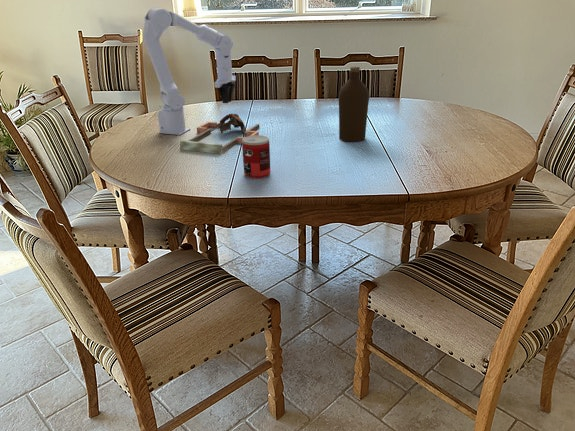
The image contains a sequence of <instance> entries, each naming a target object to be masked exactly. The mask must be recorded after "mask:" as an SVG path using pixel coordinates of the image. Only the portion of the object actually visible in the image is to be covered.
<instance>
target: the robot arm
mask: <svg viewBox="0 0 575 431" xmlns="http://www.w3.org/2000/svg"><path fill="white" fill-rule="evenodd" d="M177 26H178V27H179V28H181V29H184V30H185V31H188V32H190V33H193V34H194V35H195V36H196V38H197V40H199V41H201V42H203V43H204V44H207V45H209V46H210V47H211V46H212V47H213V48H214V49H215V61H216V73H217V79H216V81H214V83H213V84H214V88H216V89H217V92H218V93H219V95H220V96H219V97H220V99H221V101H222V103H223V104H229V103H231V102H232V98H233V92H234V89H235V87H236V81H237V79H236V77H237V76H236V75H233V67H232V55H231V54H232V48H233V45H234V43H233V41H232V38H231V37H230V36H228V35H225V34H222V31H221V30H216V29H214V28H212V27H211V25H210V24H207V23H206V24H200V25H198V24H197V23H195V22H193V21H191V20H189V19H187V18H185V17H183V16H182V15H180V14H178V13H176V12H173V11H171V10H170V11H169V10H167V9H165V8H157V7H152V8H150V9H149V10H148V11H147V13H146V15H145V16H144V24H143V32H142V40H143V41H144V45H145V47H146V49H147V53H148V56H149V58H150V62H151V63H152V67H153V69H154V71H155V75H156V77H157V80H158V82H159V85H160V87H159V90H160V99H161V103H163V104H164V106H163V107H162V108H160V109H159V110H158V114H157V120H158V126H159V131H158V133H159V134H166V135H167V134H169V135H179V136H180V135H182V134H184V133H186V132H188V131H190V130H191V128H190V127H186V120H185V119H186V118H185V112H184V105H185V98H184V96H183V95H182V94H181V93H180V90H179V88H178V86H177V85H176V83H175V82H174V79H173V76H172V73H171V70H170V67H169V65H168V62H167V59H166V56H165V53H164V51H163V47H162V45H161V42H160V38H161V36H162V35H163V33H164V32H165V31H166V30H167V29H168V28H170V27H177Z"/></svg>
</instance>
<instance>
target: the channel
mask: <svg viewBox="0 0 575 431" xmlns="http://www.w3.org/2000/svg"><path fill="white" fill-rule="evenodd" d="M219 123H220V122H217V128H216V129H220V127H219V125H218V124H219ZM225 123H226V121H225V122H224V123H223V124H225ZM220 124H221V123H220ZM258 129H260V124H259V123H256V124H254V125H253V126H251V127H250V128H249V129H246V131H258ZM246 131H245V132H244V131H243V135H244V136H243V137H246V136H247V132H246ZM210 134H212V131H211V129H208V130H206V131H204V132H202V133H198V134H197V135H196V136H194V137H192V138H190V139H188V140H179V141H178V142H179V150H181V151H182V150H184V151H191V152H201V153H209V154H220V155H222V154H223V153H225V152H226V151H228V150H229V149H231V148H232V147H234V146H235V145H237V144H238V143H237V137H235V138H234V139H232V140H231V141H228V142H227V143H226V144H224V145H223V144H221V143H220V144H219V143H212V142H211V143H210V142H201V141H200V140H202V139H204V138H205V137H207V136H209V135H210Z"/></svg>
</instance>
